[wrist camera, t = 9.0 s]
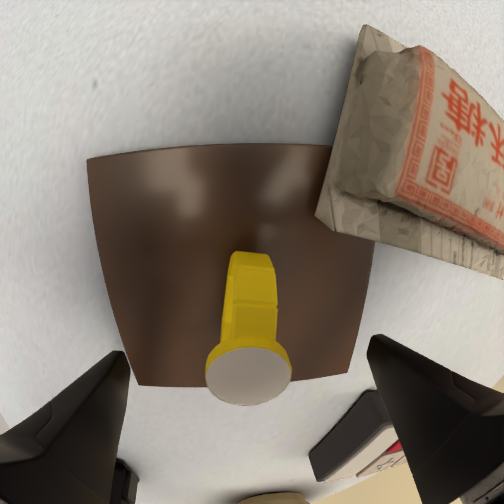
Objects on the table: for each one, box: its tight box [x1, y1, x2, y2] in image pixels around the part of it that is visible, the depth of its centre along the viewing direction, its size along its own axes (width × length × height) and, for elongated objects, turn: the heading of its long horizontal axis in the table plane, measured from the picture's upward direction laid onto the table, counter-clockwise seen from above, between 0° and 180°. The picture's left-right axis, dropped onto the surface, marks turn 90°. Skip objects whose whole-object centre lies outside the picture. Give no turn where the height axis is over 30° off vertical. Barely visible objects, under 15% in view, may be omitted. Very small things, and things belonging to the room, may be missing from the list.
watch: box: [205, 251, 292, 406], centre depth 11 cm, size 6×3×6 cm, turn 171°
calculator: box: [309, 391, 407, 483], centre depth 20 cm, size 11×4×15 cm
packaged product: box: [314, 24, 504, 280], centre depth 11 cm, size 18×5×10 cm
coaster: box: [87, 143, 375, 387], centre depth 14 cm, size 14×14×1 cm
